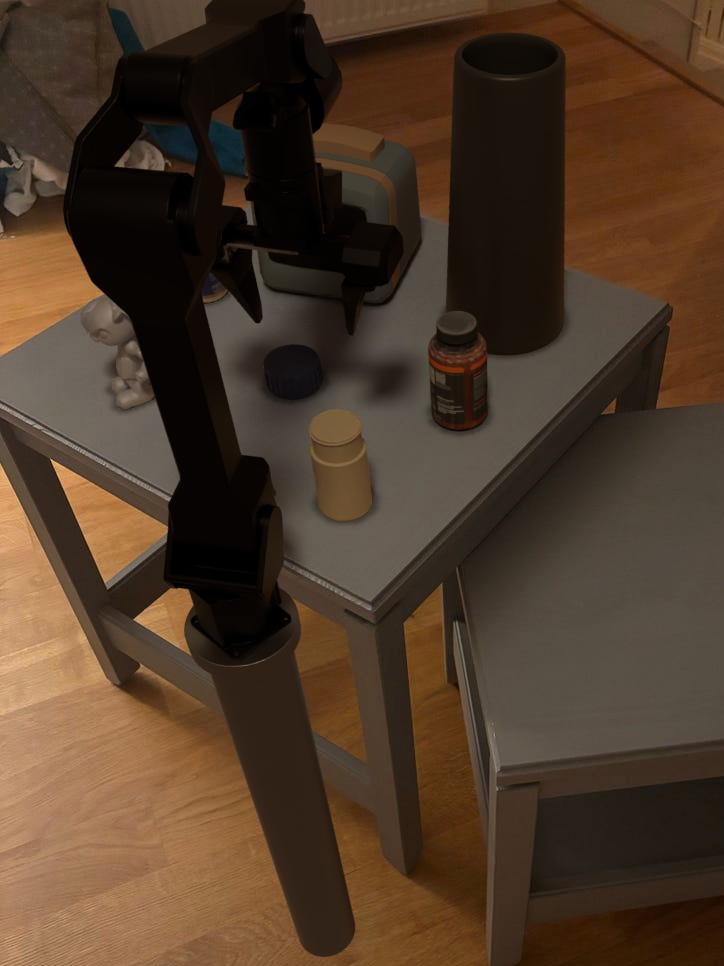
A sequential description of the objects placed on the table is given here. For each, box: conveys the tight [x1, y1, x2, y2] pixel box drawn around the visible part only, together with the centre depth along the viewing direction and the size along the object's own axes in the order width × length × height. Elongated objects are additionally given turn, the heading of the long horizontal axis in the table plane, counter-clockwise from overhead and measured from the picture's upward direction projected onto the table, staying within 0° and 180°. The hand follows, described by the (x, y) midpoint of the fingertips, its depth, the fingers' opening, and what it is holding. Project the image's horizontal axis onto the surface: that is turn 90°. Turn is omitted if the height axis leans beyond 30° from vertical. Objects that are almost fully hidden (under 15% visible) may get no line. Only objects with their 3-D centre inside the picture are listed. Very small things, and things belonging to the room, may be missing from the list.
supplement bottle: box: [427, 311, 489, 431], centre depth 106 cm, size 6×6×11 cm
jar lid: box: [263, 343, 324, 400], centre depth 112 cm, size 6×6×3 cm
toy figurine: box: [80, 297, 155, 410], centre depth 108 cm, size 7×6×12 cm
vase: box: [445, 31, 567, 356], centre depth 110 cm, size 14×14×29 cm
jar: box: [308, 408, 373, 522], centre depth 98 cm, size 5×5×10 cm
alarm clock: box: [249, 123, 422, 304], centre depth 122 cm, size 16×16×16 cm
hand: (305, 327), depth 98 cm, fingers open, 9 cm apart
